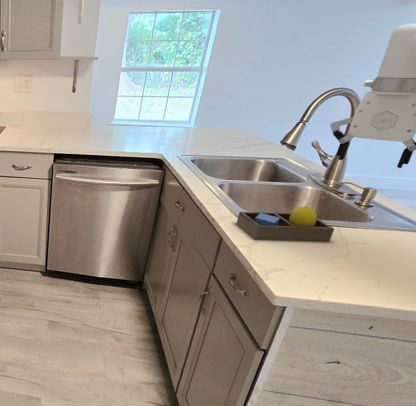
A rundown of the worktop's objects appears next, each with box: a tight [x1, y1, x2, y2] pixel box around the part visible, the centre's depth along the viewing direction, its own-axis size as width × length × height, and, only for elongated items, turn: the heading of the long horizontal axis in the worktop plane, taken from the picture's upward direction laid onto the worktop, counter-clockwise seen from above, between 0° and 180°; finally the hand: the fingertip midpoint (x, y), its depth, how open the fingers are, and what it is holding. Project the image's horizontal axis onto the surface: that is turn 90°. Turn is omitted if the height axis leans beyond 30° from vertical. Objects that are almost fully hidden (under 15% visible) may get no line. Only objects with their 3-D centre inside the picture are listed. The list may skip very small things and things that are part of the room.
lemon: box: [289, 205, 317, 227], centre depth 100 cm, size 6×6×8 cm
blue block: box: [254, 213, 280, 226], centre depth 102 cm, size 4×4×4 cm
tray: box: [235, 211, 335, 243], centre depth 102 cm, size 10×18×4 cm, turn 83°
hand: (369, 162), depth 85 cm, fingers open, 9 cm apart
